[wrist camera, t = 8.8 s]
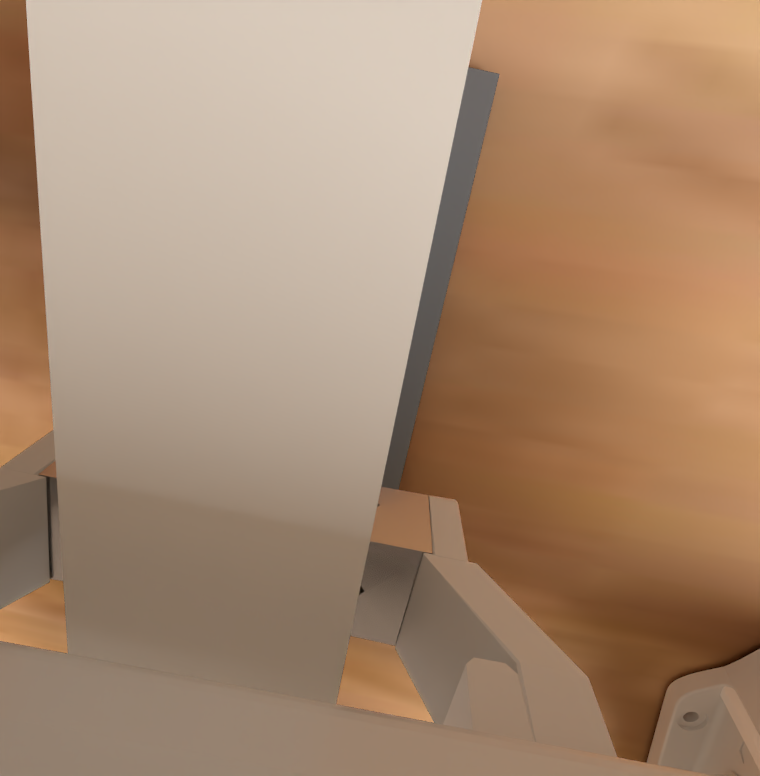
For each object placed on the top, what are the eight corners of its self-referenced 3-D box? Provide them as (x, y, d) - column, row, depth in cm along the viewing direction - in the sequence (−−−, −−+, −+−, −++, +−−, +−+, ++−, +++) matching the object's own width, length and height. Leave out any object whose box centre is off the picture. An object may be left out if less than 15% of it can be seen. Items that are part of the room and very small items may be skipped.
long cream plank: (326, 683, 14) (286, 940, 9) (193, 661, 14) (84, 910, 9) (445, 74, 9) (491, -47, 4) (229, 32, 8) (16, -143, 4)
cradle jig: (375, 573, 29) (371, 623, 26) (140, 528, 29) (105, 573, 25) (495, 78, 20) (511, 59, 17) (153, 5, 20) (103, -29, 16)
